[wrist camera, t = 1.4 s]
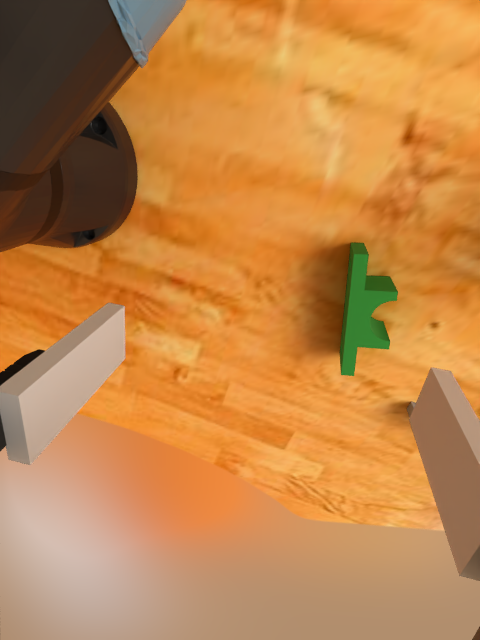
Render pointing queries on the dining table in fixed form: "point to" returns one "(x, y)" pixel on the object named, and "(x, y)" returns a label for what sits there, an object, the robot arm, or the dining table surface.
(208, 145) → the dining table surface
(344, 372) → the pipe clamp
